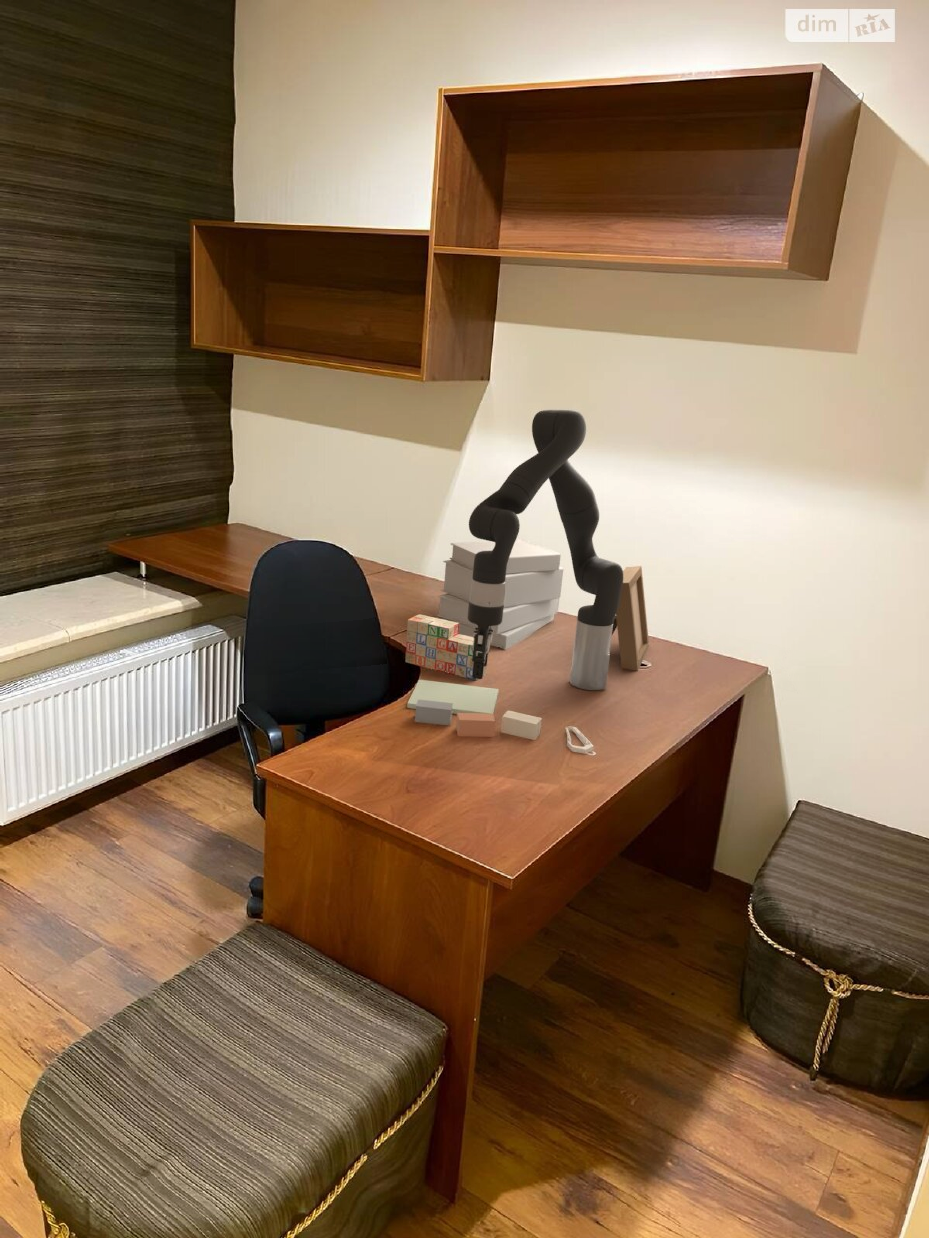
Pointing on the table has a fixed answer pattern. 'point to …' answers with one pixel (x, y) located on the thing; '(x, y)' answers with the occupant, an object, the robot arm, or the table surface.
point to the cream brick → (521, 725)
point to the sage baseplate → (456, 696)
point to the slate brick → (433, 712)
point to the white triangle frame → (582, 738)
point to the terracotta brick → (475, 724)
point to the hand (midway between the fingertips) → (479, 671)
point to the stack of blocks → (439, 646)
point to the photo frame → (632, 620)
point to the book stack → (506, 590)
